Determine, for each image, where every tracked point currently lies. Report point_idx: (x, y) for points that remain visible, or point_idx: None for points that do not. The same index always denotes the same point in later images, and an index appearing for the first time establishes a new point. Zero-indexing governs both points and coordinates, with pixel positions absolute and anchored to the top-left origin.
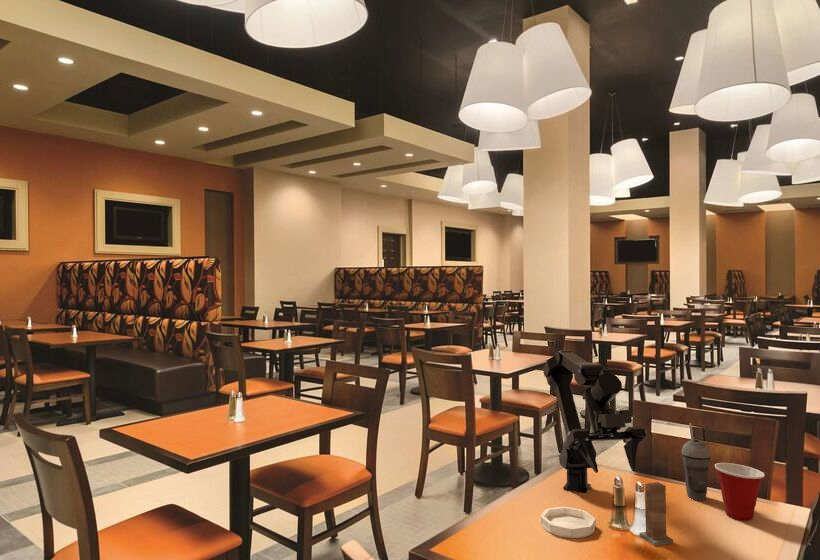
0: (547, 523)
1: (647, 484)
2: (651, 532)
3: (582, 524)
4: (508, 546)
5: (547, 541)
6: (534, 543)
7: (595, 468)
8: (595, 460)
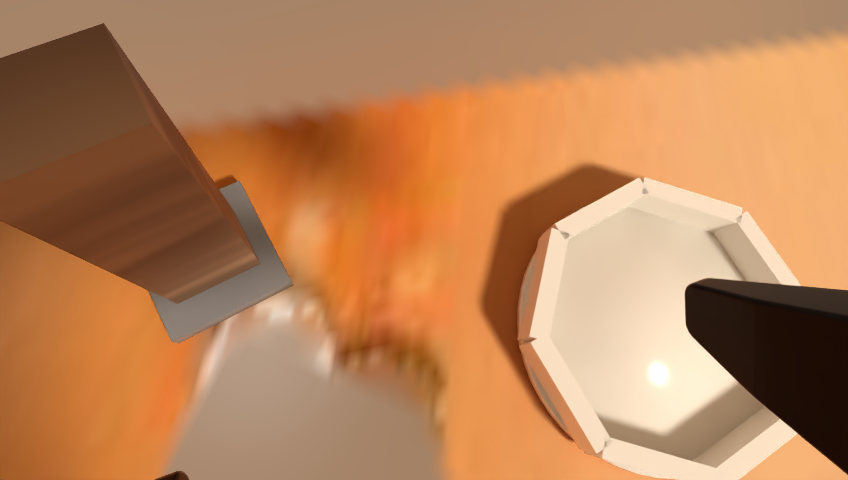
0: (760, 237)
1: (129, 100)
2: (233, 213)
3: (585, 333)
4: (839, 89)
5: (712, 153)
6: (757, 127)
7: (743, 282)
8: (839, 310)
